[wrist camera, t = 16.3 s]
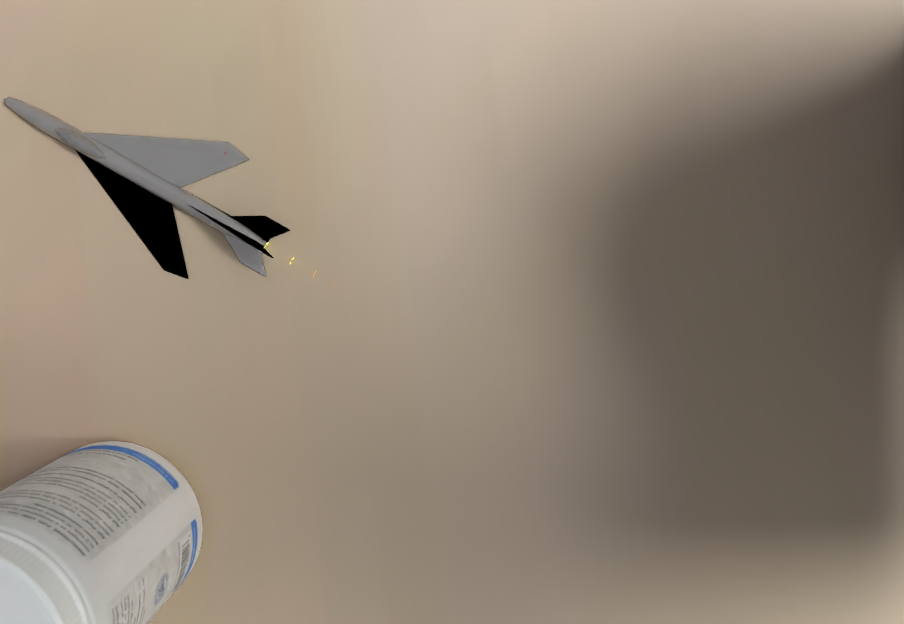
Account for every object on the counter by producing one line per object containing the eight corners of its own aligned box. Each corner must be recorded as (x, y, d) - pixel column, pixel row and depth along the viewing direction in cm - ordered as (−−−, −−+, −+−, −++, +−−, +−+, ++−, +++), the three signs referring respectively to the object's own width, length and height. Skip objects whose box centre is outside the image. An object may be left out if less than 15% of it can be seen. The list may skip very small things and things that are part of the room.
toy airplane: (38, 34, 45) (13, 25, 43) (382, 228, 45) (375, 229, 43) (-20, 163, 46) (-49, 160, 44) (315, 353, 46) (304, 360, 44)
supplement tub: (13, 482, 48) (-210, 599, 33) (155, 407, 46) (-11, 494, 32) (98, 630, 48) (-84, 809, 34) (241, 560, 47) (115, 714, 33)
